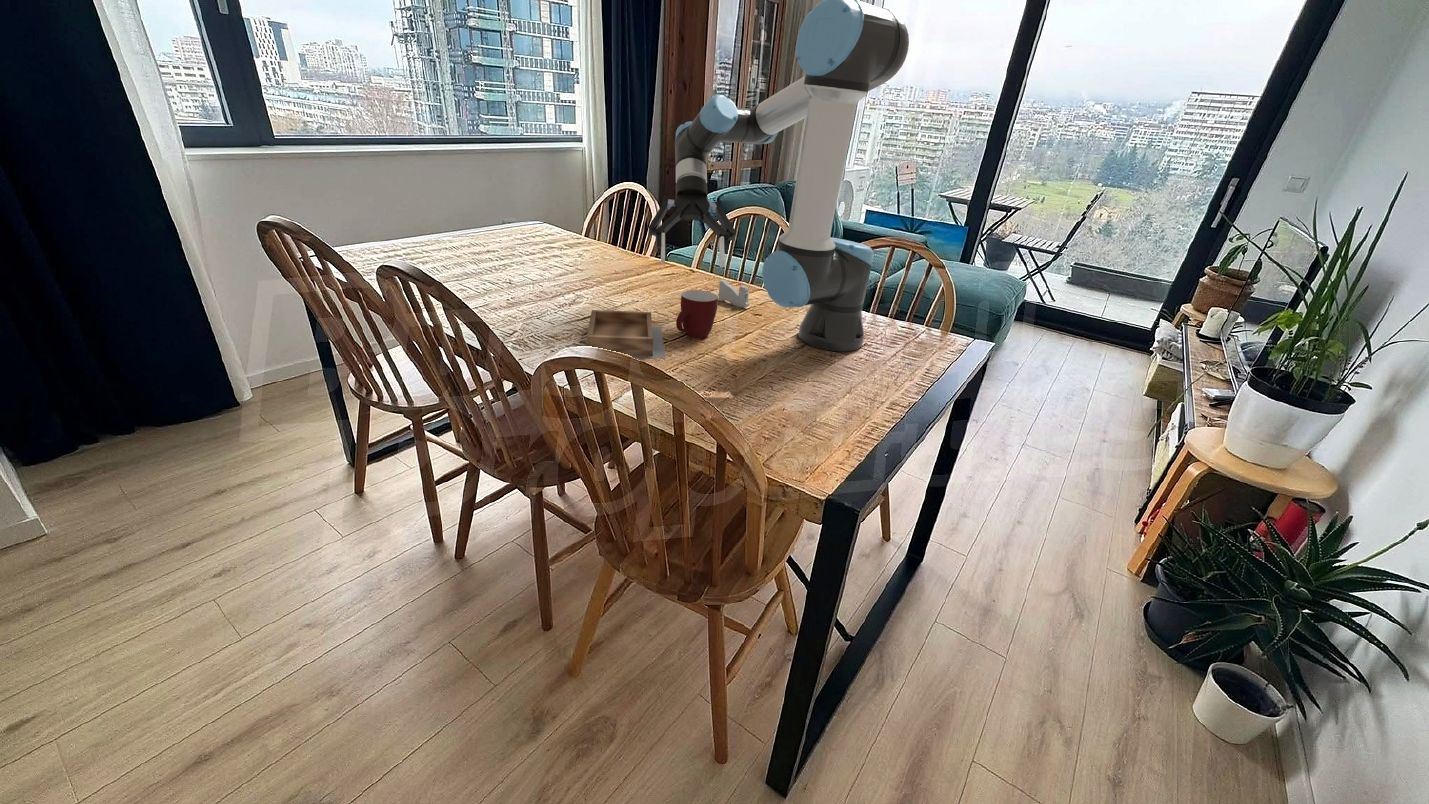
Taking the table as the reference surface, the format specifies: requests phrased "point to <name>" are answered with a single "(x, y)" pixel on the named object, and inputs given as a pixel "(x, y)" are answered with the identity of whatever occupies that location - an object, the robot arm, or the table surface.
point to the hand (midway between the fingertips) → (692, 263)
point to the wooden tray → (621, 332)
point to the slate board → (655, 344)
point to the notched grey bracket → (733, 294)
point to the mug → (697, 313)
